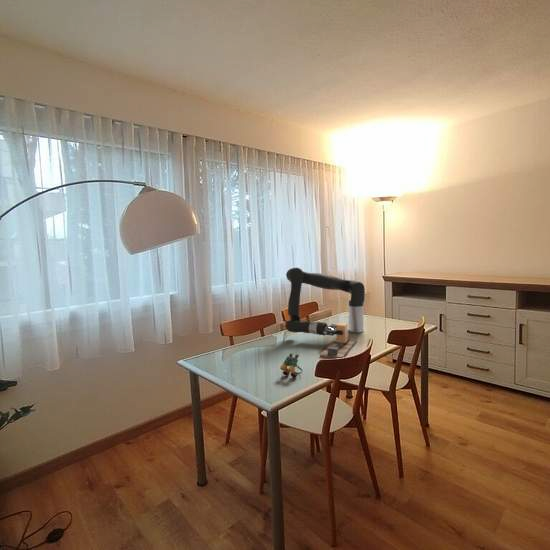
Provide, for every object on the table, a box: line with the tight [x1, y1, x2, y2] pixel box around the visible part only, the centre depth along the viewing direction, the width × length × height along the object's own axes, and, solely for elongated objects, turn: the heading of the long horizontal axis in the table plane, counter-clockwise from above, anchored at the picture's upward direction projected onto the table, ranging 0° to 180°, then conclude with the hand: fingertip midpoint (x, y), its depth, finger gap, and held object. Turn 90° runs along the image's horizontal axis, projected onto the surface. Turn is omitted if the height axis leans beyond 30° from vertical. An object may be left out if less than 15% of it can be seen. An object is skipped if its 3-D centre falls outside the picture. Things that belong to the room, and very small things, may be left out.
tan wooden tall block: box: [335, 322, 349, 343], centre depth 186 cm, size 5×5×10 cm
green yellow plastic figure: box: [279, 352, 303, 378], centre depth 150 cm, size 9×9×10 cm
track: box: [319, 335, 357, 359], centre depth 182 cm, size 30×12×4 cm, turn 152°
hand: (344, 330), depth 186 cm, fingers open, 8 cm apart
